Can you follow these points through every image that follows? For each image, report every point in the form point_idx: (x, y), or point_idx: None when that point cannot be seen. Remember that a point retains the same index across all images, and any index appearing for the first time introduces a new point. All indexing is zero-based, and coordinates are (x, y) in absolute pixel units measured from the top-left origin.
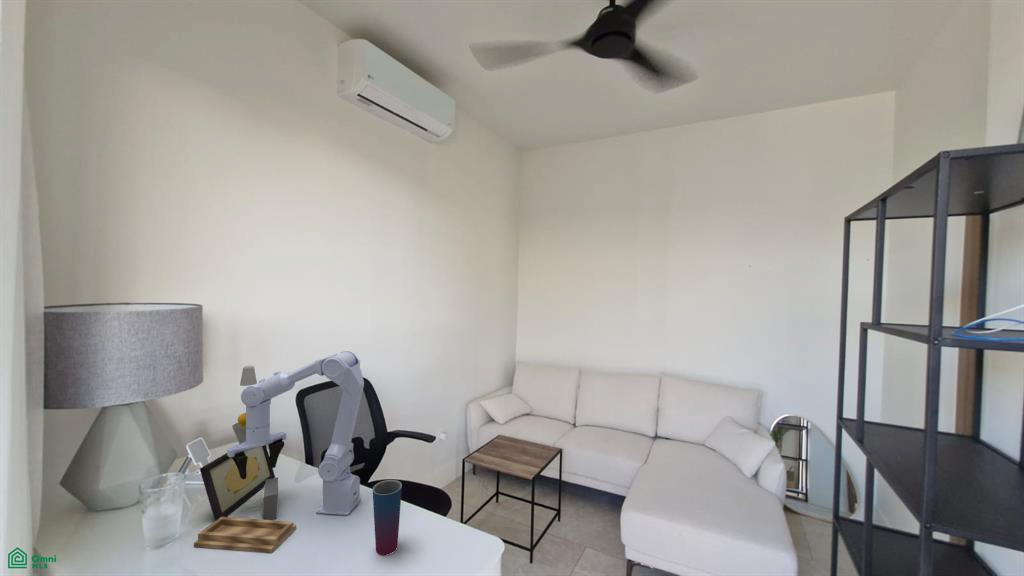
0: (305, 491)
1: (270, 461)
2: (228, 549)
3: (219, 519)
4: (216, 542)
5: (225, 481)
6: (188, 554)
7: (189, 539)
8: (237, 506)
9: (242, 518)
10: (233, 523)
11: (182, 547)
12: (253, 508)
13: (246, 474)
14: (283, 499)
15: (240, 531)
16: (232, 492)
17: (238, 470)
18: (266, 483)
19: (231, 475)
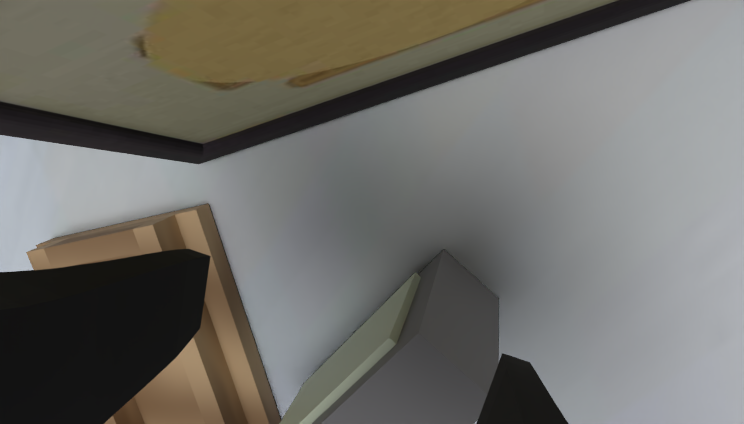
0: (663, 394)
1: (500, 408)
2: None
3: (133, 239)
4: None
5: (159, 61)
6: (26, 264)
7: (64, 157)
8: (329, 119)
9: (197, 357)
10: None
11: (27, 189)
12: (372, 223)
13: (170, 362)
14: (522, 324)
15: (179, 378)
16: (277, 83)
17: (117, 262)
18: (371, 389)
19: (226, 23)
